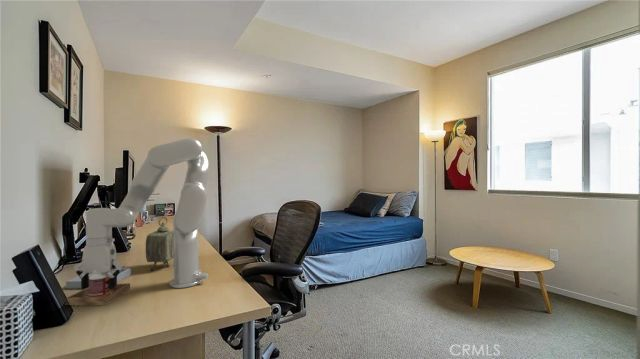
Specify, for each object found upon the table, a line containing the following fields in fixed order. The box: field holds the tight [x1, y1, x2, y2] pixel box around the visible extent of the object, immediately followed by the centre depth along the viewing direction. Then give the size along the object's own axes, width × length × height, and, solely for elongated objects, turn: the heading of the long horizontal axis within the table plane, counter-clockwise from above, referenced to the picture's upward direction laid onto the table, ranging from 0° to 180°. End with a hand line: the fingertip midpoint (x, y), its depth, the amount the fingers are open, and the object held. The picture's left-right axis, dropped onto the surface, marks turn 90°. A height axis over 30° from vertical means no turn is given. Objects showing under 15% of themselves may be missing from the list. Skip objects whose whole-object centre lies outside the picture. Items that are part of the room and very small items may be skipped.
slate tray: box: [65, 268, 132, 290], centre depth 120 cm, size 16×16×3 cm
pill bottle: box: [88, 270, 111, 297], centre depth 103 cm, size 6×6×11 cm
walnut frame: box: [66, 282, 131, 307], centre depth 103 cm, size 14×14×2 cm
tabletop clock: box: [144, 216, 174, 271], centre depth 140 cm, size 14×9×25 cm, turn 178°
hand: (99, 287), depth 103 cm, fingers open, 9 cm apart
